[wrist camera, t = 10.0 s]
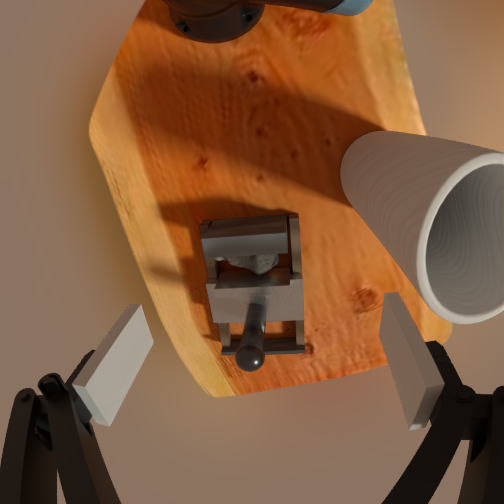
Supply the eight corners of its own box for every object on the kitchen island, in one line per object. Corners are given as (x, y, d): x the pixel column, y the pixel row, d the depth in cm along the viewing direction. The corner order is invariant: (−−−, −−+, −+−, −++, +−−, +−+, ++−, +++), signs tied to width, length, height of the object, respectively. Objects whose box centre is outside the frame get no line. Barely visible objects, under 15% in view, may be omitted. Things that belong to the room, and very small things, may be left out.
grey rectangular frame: (202, 221, 53) (187, 240, 45) (298, 213, 51) (300, 231, 43) (225, 343, 63) (217, 373, 55) (304, 340, 61) (305, 371, 52)
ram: (210, 271, 56) (182, 331, 40) (301, 266, 54) (306, 328, 38) (218, 310, 59) (195, 376, 43) (303, 307, 57) (307, 375, 41)
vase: (426, 143, 44) (565, 182, 15) (407, 223, 49) (510, 331, 20) (346, 120, 44) (441, 119, 15) (330, 206, 50) (384, 320, 21)
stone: (214, 253, 56) (229, 292, 53) (205, 240, 51) (222, 283, 48) (265, 231, 57) (283, 269, 53) (261, 216, 52) (281, 258, 48)
